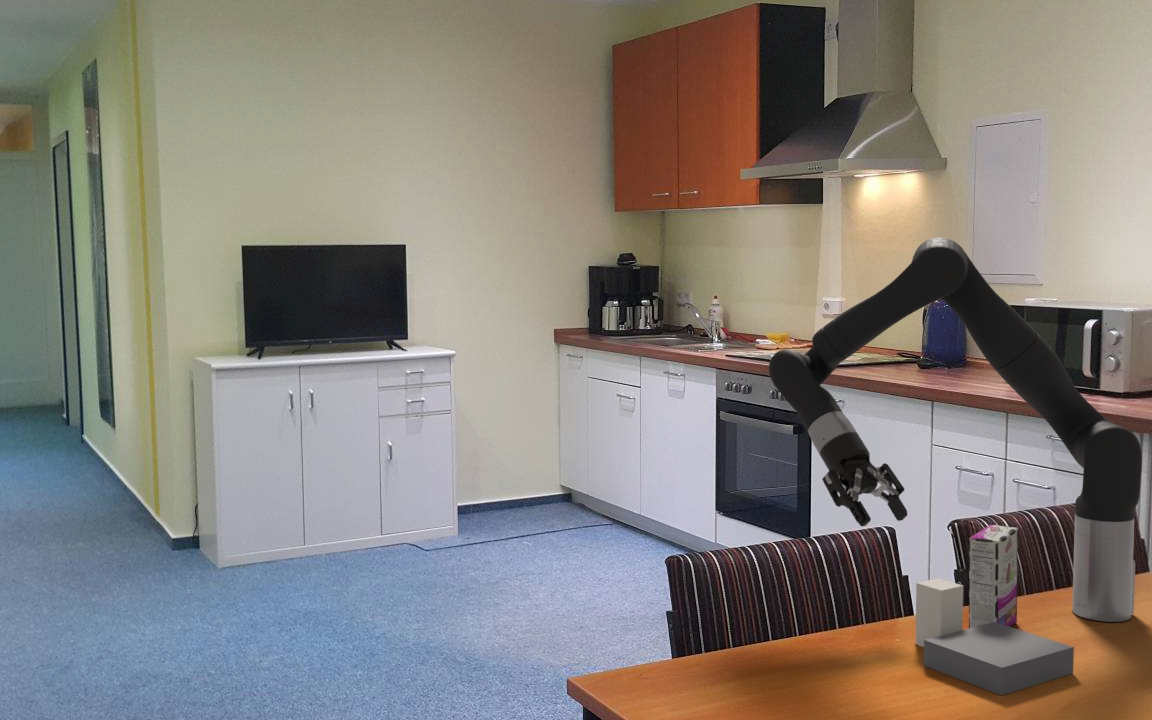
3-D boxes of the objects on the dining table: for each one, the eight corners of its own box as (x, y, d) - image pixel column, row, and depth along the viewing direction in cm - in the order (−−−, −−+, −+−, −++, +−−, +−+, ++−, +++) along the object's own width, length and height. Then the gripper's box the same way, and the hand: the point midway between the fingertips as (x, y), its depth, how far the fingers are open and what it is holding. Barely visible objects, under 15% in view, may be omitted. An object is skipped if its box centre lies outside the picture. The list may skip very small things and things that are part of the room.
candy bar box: (987, 617, 193) (989, 523, 191) (1017, 623, 190) (1019, 527, 188) (965, 635, 184) (967, 536, 182) (997, 641, 181) (999, 540, 179)
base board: (994, 646, 178) (994, 621, 178) (1073, 673, 166) (1073, 647, 166) (923, 665, 170) (924, 639, 169) (1001, 695, 158) (1001, 667, 157)
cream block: (937, 638, 182) (938, 578, 181) (962, 647, 178) (963, 585, 177) (915, 644, 179) (916, 582, 179) (940, 653, 175) (941, 590, 174)
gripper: (818, 433, 190) (866, 512, 181) (879, 427, 198) (927, 503, 189) (796, 459, 195) (842, 538, 186) (856, 453, 202) (902, 528, 194)
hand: (885, 520), depth 188 cm, fingers open, 8 cm apart
